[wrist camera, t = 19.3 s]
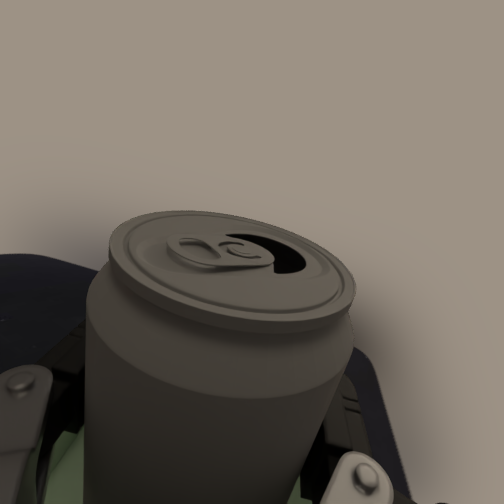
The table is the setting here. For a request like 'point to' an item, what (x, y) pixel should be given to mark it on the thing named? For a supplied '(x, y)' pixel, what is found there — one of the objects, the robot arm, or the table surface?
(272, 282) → the beverage can
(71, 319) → the table surface
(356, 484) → the robot arm
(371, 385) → the table surface
